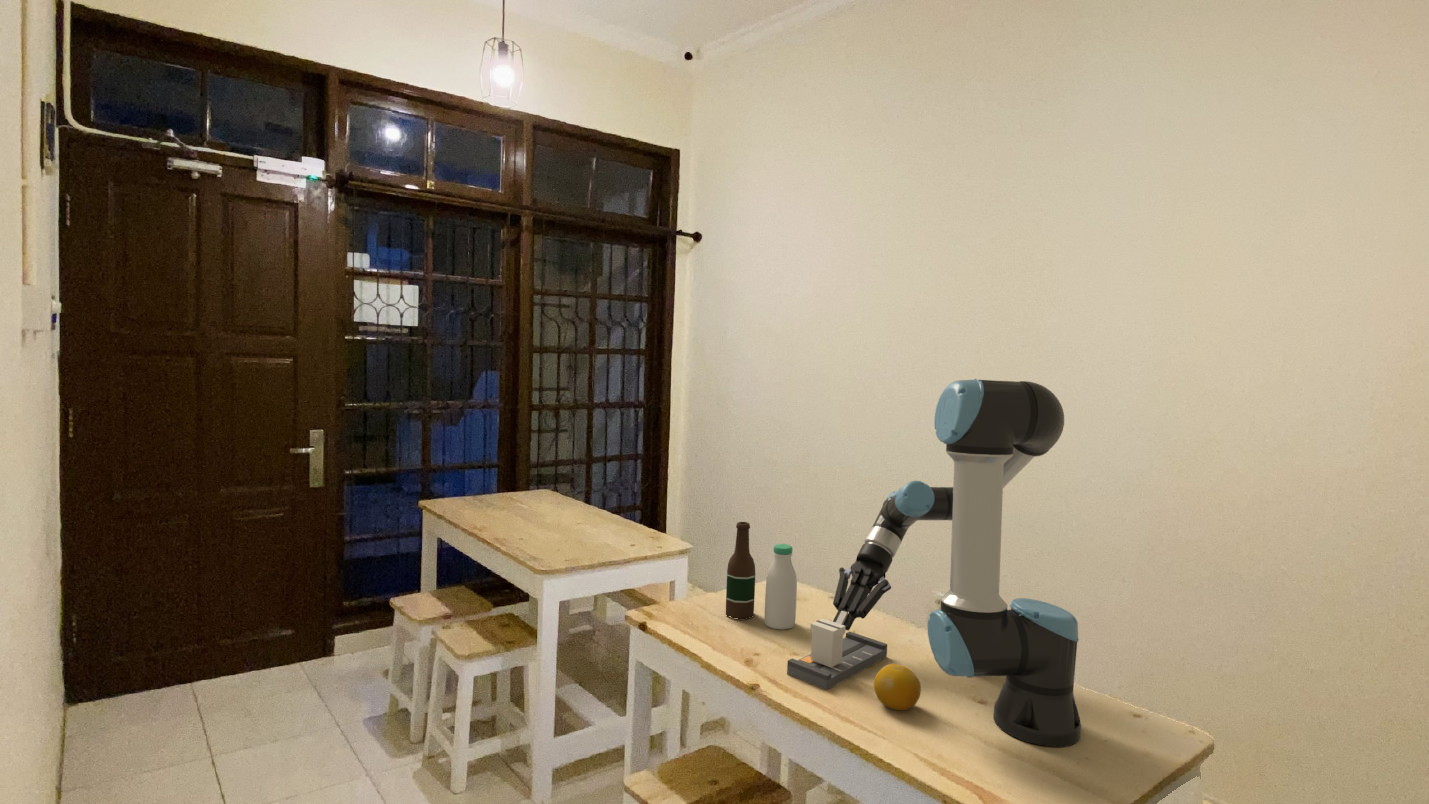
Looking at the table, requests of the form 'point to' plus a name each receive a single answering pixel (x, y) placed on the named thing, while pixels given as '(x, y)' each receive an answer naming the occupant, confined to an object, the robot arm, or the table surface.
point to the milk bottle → (781, 590)
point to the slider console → (854, 659)
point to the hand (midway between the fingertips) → (833, 640)
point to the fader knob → (827, 642)
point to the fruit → (897, 687)
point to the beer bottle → (741, 577)
